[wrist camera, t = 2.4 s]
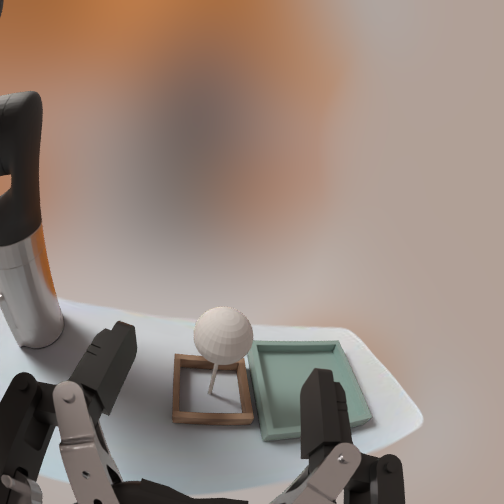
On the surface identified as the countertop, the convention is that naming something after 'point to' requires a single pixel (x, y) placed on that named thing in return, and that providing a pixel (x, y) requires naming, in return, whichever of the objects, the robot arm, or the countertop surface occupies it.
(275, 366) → the tray
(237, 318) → the lollipop
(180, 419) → the square wooden frame
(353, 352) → the countertop surface
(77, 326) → the countertop surface
